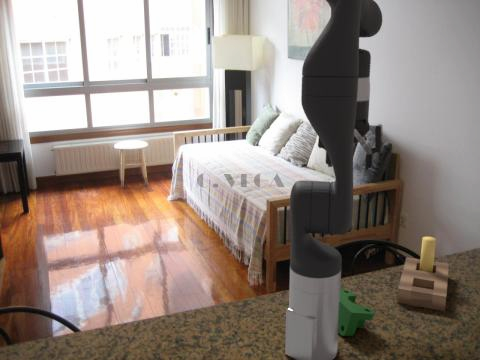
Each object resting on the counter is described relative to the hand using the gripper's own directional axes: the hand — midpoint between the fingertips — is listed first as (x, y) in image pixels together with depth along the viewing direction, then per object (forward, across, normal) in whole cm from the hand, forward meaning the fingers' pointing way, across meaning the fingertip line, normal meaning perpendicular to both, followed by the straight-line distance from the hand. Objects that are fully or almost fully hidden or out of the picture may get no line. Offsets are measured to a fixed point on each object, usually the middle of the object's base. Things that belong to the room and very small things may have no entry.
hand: (348, 167), depth 120 cm
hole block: (+28, -19, -2) cm, 34 cm away
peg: (+28, -19, -6) cm, 34 cm away
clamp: (+28, -5, +20) cm, 35 cm away
